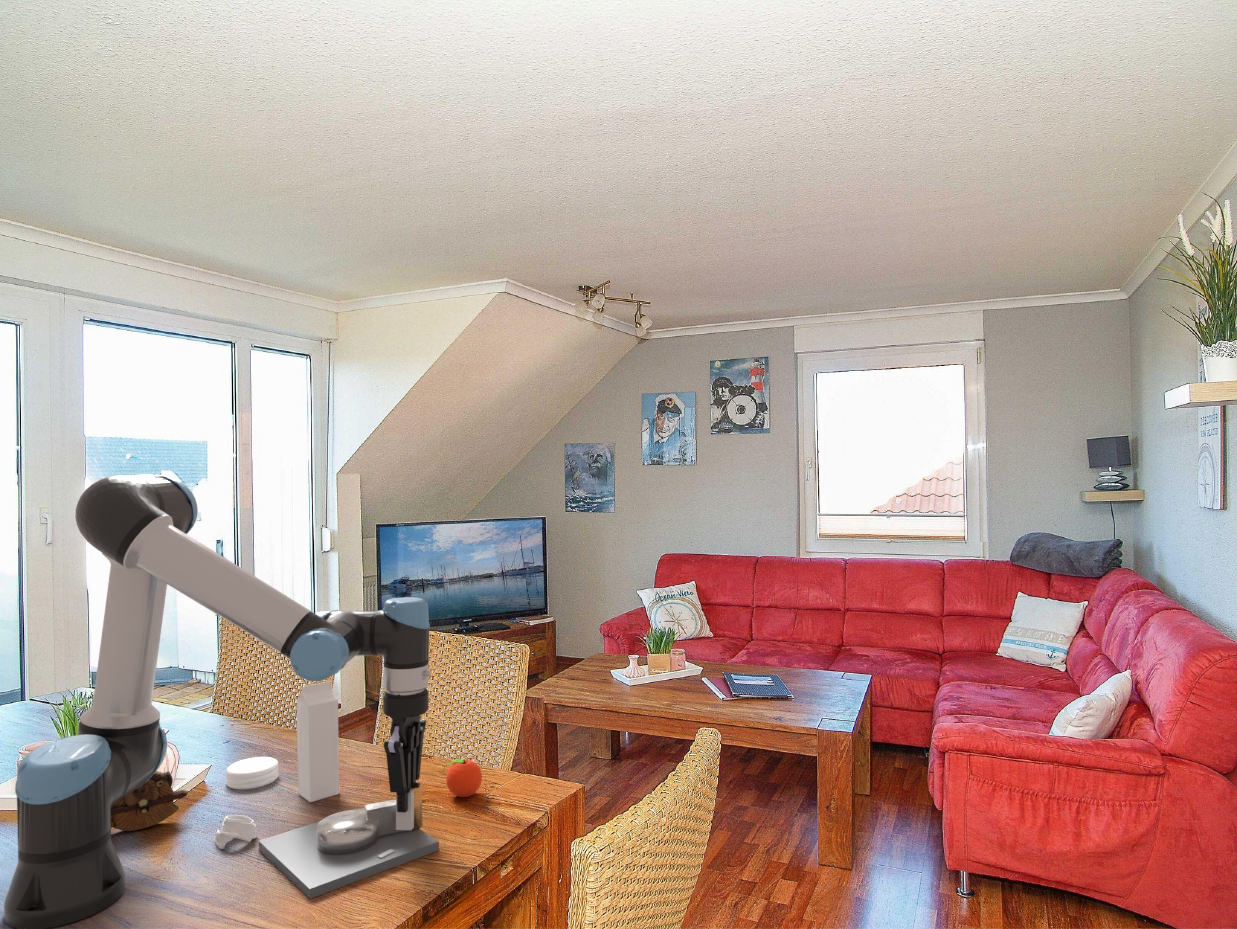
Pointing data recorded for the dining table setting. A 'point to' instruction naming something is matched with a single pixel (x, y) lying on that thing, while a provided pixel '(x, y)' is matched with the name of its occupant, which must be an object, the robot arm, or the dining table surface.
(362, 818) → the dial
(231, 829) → the whipped cream
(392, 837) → the plate
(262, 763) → the round white tin
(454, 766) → the clementine
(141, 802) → the wooden carving
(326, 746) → the milk
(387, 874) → the dining table surface
